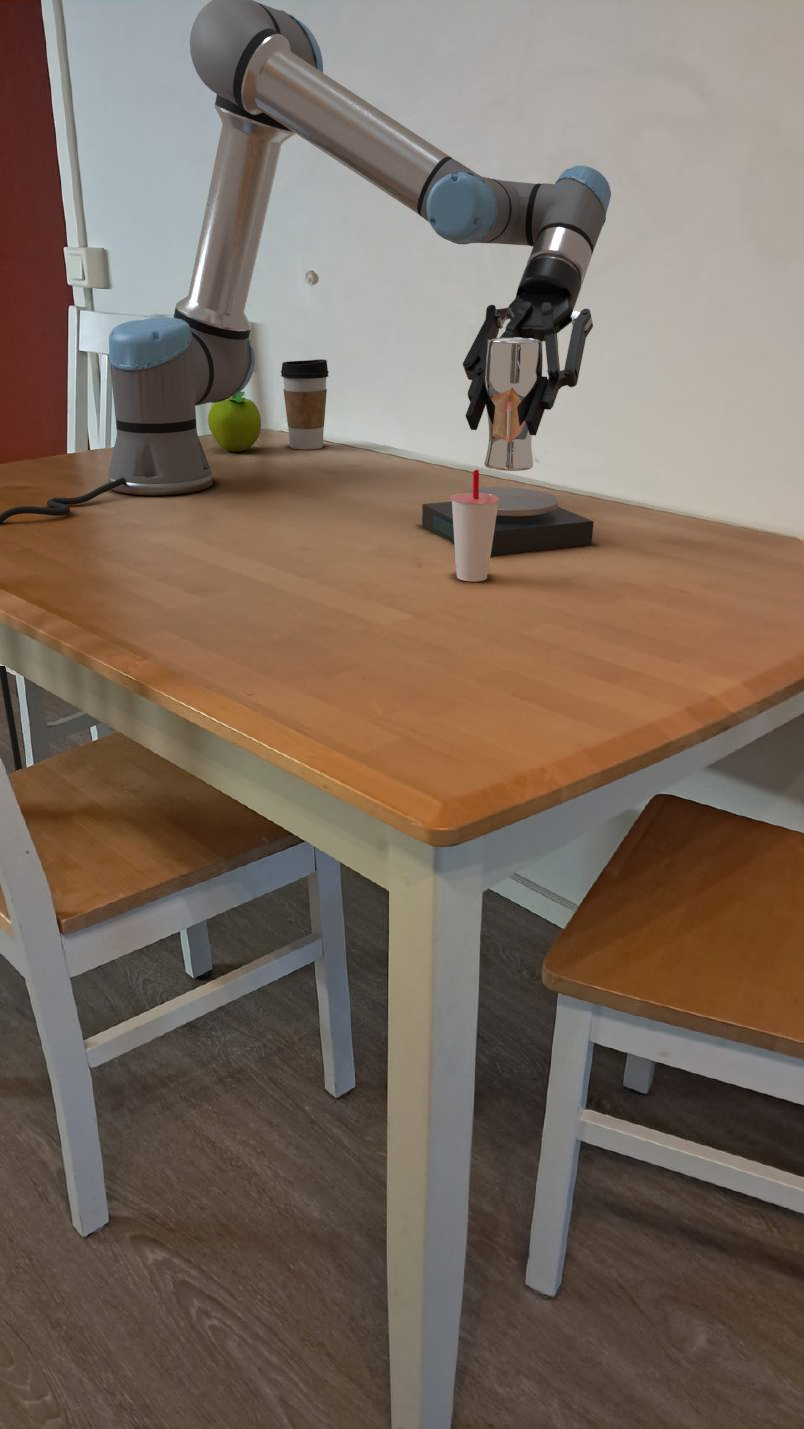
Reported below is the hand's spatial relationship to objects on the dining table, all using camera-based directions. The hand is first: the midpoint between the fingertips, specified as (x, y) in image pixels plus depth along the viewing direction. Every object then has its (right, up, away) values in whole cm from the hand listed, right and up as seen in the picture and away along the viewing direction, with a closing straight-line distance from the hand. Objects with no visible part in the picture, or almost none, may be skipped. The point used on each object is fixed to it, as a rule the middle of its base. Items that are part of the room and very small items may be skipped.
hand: (500, 425), depth 128 cm
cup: (-4, -20, -9) cm, 22 cm away
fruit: (-41, +12, +61) cm, 75 cm away
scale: (+1, -12, +9) cm, 15 cm away
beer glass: (+1, -4, +5) cm, 7 cm away
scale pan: (+1, -8, +7) cm, 11 cm away
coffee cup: (-29, +14, +65) cm, 73 cm away
